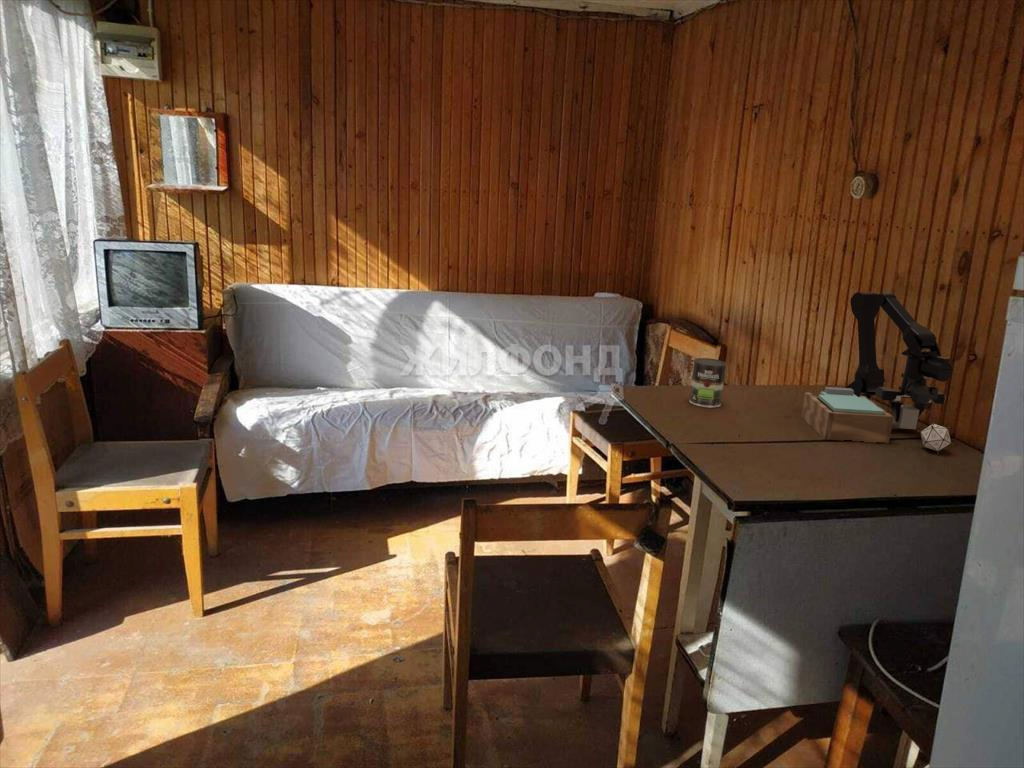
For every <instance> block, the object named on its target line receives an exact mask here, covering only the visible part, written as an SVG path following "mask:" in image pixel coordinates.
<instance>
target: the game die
mask: <svg viewBox="0 0 1024 768" xmlns="http://www.w3.org/2000/svg"><path fill="white" fill-rule="evenodd" d="M949 429H951V426H948V427H945V426H943V425H939V424H936V423H935V421H934V420H933V421H932V423H931V424H930V425H929V426H927V427H926V428H924V429H922V430H917V432H918V433H919V434H920V436H921V437H920V438H921V441H922V446H921V447H920V448H921V449H924V448H927V449H930V450H932V451H935V452H936V454H937V455H939V454H940V451H941V450H943V449H945V448H946V447H948V446H949V445H955V443H954V442H952V440H951V435H950V431H949Z"/></svg>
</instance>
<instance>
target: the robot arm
mask: <svg viewBox="0 0 1024 768" xmlns="http://www.w3.org/2000/svg"><path fill="white" fill-rule="evenodd" d="M850 308H851V313H852V314H853V316H854V318H855V319H856V321H857V334H858V335H857V336H858V337H857V338H858V339H857V340H858V357H859V359H858V361H859V366H858V368H857V369H856V371H855V373H854V380H853V381H852V382H851V383H850V384H848V385H847V386H845V388H851V389H853V390H854V394H855V395H856V396H857V397H860V396H865V397H867V398H868V399H869V400H871V401H872V396H876V397H877V398H879V399H880V400H882V401H887V402H888V401H889V405H890V407H891V410H892V414H893V415H892V416H893V417H894V419H895V421H896V422H898V419H899V414H900V407H901V405H904V402H903V401H901V399H910V400H911V402H913V406H914V407H915V408H917V409H918V410H919V415H918V419H919V418H920V416H921V415H922V413H923V412H924V411H925V409H926V408H928V407H933V405H934V404H939V405H944V404H945V403H946V400H947V397H946V395H945V393H942V392H941V391H940V390H939V388H938V387H936V386H928V385H927V382H928V381H927V378H928V379H932V380H935V381H938V382H942V383H945V382H947V381H948V380H950V378H951V377H952V375H953V372H954V370H953V365H952V364H951V363H950V358H948V357H942V353H941V350H940V348H939V346H938V345H939V344H938V342H937V336H936V335H935V334H934V332H932V331H930V329H929V328H927V327H926V326H923V325H922V324H919V323H918V322H917V321H916V320H915V319H914V318H913V316H912V315H911V314H910V313H909V312H908V310H907V309H906V307H904V306H903V305H902V304H901V302H900V301H899V299H897V296H896V295H895V293H892V292H882V293H877V292H873V291H868V292H867V291H866V292H865V291H864V292H863V291H862V292H861V291H858V292H855V293H854V294H853V295H852V297H850ZM880 308H881V309H882V310H883V311H884V312H885V314H886V315H887V316H888V317H889V318H890V319H891V321H892V322H893V323H894V325H895V326H896V327H897V328H898V330H900V332H901V336H902V341H903V343H904V344H905V346H906V348H907V349H905V350H904V351H902V352H901V355H902V356H905V357H906V360H905V364H904V365H905V367H904V372H901V375H900V376H901V378H902V381H901V385H899V386H898V390H895V389H893V388H892V387H890V386H888V387H887V386H884V385H885V383H886V379H885V369H884V368H880V367H879V366H878V364H877V347H876V342H877V341H876V323H875V319H876V317H877V316H878V314H879V311H880ZM932 402H933V403H932ZM894 419H893V420H894Z"/></svg>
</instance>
